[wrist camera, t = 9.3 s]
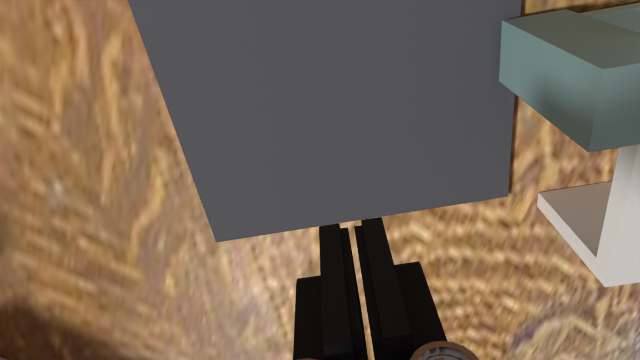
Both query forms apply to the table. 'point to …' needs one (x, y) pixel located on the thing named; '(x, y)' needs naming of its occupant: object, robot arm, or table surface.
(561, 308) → the table surface
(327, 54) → the mat
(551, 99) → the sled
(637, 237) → the tunnel
